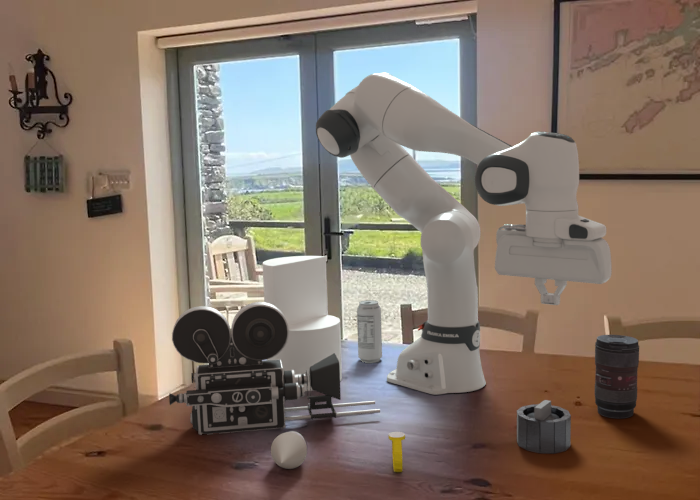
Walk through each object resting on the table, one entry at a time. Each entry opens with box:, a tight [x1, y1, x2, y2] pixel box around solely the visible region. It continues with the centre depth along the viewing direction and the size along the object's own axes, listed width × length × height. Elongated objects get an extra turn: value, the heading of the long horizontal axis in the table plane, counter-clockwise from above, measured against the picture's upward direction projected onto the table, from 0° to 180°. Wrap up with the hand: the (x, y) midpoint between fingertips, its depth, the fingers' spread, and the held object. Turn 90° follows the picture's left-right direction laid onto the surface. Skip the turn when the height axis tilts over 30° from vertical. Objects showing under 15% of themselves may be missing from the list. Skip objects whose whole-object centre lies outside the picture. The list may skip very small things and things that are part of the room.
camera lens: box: [594, 334, 640, 419], centre depth 146 cm, size 8×8×15 cm
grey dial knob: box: [527, 399, 559, 420], centre depth 131 cm, size 6×6×4 cm
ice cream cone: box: [270, 430, 308, 470], centre depth 124 cm, size 6×6×15 cm
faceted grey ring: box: [516, 403, 572, 455], centre depth 132 cm, size 9×9×6 cm
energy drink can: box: [356, 299, 383, 364], centre depth 188 cm, size 6×6×15 cm
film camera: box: [168, 301, 381, 436], centre depth 145 cm, size 40×12×24 cm, turn 99°
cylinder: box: [262, 255, 343, 392], centre depth 172 cm, size 17×17×28 cm
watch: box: [387, 431, 406, 473], centre depth 123 cm, size 6×3×6 cm, turn 0°
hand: (550, 303), depth 131 cm, fingers closed
